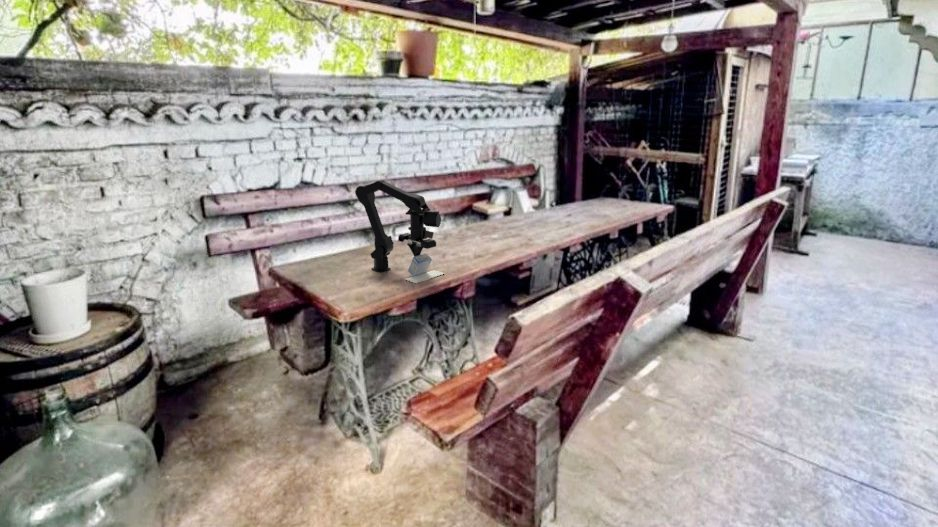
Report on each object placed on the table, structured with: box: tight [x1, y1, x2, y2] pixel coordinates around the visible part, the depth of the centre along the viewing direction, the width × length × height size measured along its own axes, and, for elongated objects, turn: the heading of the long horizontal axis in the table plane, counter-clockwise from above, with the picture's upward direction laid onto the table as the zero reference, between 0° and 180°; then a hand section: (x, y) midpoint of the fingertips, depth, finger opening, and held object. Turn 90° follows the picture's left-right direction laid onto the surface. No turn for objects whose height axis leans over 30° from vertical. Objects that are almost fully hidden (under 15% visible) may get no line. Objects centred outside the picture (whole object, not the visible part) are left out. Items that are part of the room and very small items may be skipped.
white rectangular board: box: [404, 269, 446, 284], centre depth 225 cm, size 6×18×1 cm, turn 139°
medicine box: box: [407, 253, 433, 277], centre depth 226 cm, size 8×4×9 cm
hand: (417, 259), depth 226 cm, fingers closed
